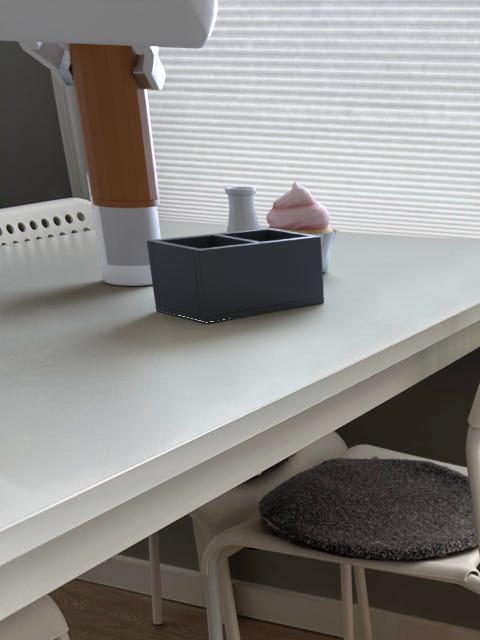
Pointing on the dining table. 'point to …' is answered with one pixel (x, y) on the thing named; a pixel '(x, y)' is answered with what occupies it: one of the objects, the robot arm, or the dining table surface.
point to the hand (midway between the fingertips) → (113, 81)
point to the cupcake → (303, 218)
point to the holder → (236, 273)
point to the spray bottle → (125, 242)
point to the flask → (241, 209)
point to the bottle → (114, 126)
